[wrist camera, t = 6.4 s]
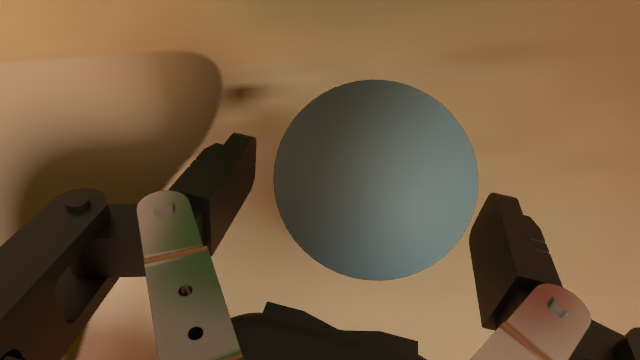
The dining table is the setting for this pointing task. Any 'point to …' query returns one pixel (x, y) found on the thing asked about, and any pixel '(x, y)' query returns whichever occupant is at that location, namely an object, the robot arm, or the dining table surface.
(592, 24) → the dining table surface
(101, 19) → the dining table surface
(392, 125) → the bead peg
